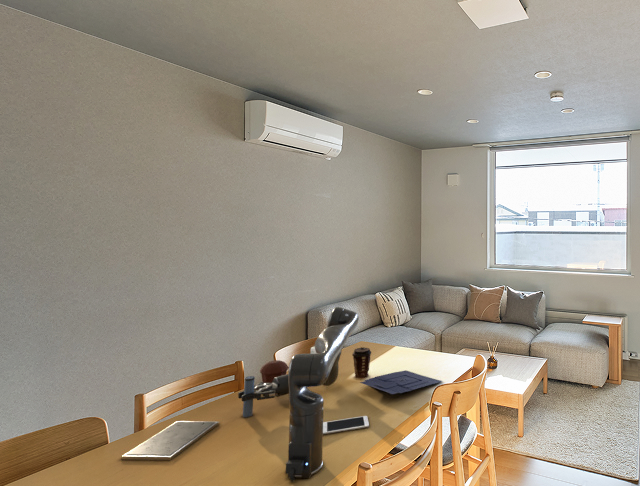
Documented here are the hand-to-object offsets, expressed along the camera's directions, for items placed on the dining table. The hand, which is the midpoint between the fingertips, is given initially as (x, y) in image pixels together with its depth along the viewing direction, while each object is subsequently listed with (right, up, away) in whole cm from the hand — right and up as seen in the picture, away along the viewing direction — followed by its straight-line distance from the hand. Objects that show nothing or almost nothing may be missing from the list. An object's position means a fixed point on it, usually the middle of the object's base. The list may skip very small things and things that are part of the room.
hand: (240, 397), depth 145 cm
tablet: (-12, -7, -16) cm, 21 cm away
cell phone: (+41, -8, -6) cm, 42 cm away
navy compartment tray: (+54, -9, +30) cm, 63 cm away
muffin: (-4, -9, +32) cm, 33 cm away
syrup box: (+13, -9, +40) cm, 43 cm away
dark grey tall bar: (+2, -8, +2) cm, 8 cm away
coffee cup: (+33, -9, +41) cm, 54 cm away
